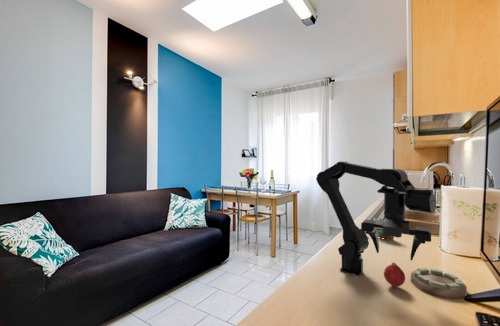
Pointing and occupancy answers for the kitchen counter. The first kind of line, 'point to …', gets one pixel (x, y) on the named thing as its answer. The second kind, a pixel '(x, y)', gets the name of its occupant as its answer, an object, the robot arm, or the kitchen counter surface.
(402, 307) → the kitchen counter surface
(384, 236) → the food container
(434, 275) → the display stand
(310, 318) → the kitchen counter surface
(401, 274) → the pomegranate
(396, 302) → the kitchen counter surface
